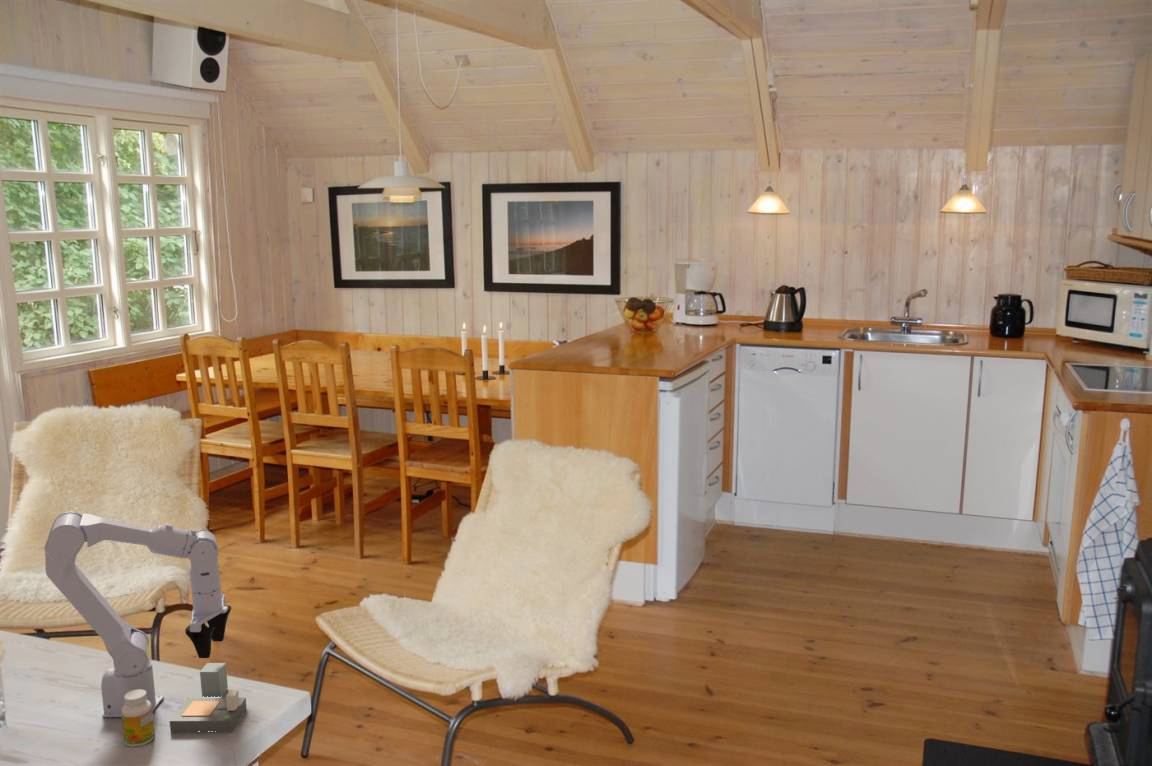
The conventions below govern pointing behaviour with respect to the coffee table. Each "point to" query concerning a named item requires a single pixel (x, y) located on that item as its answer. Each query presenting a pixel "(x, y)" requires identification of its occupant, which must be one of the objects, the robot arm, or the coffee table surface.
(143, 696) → the supplement bottle
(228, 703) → the lever
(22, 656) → the coffee table surface
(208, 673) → the block
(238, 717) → the switch box
